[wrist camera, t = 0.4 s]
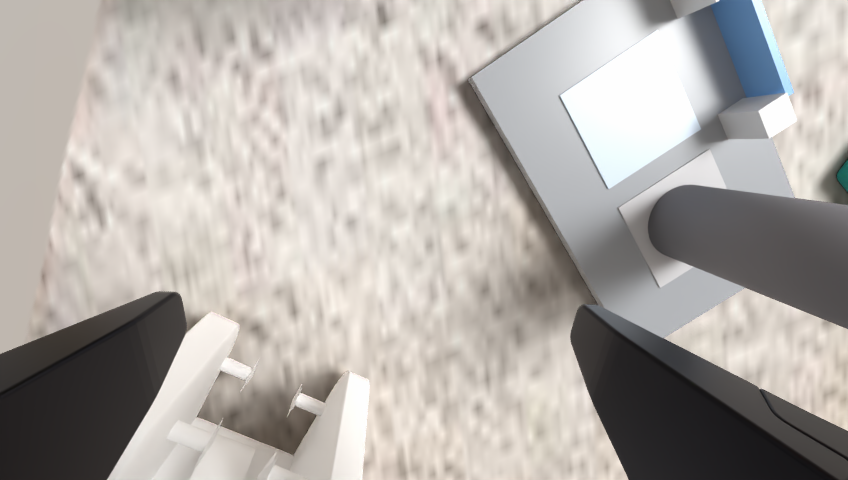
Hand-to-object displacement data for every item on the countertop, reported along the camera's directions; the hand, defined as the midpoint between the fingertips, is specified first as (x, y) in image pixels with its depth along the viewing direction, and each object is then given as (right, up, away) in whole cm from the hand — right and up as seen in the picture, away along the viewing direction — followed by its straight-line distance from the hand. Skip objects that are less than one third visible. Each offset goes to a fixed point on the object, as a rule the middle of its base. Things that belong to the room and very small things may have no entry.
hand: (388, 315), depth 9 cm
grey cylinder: (+16, +3, +14) cm, 22 cm away
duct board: (+14, +6, +14) cm, 21 cm away
